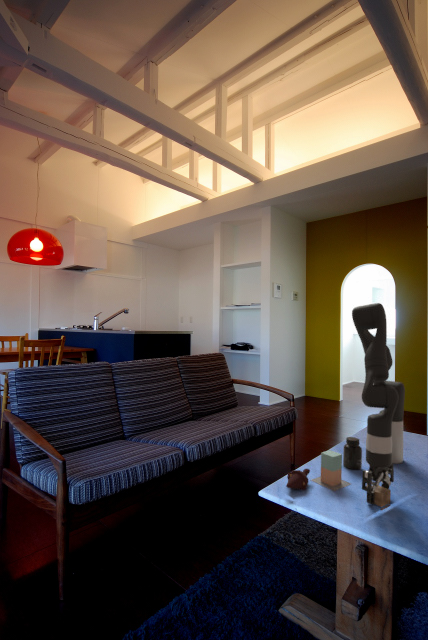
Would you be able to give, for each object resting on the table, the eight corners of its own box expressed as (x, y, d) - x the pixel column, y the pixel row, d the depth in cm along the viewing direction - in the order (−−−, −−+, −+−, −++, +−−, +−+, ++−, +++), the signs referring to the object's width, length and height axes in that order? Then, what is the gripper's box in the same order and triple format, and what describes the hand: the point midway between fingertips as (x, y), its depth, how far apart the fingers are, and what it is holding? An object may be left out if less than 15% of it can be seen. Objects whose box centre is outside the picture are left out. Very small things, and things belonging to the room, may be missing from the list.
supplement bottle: (363, 473, 135) (363, 442, 135) (344, 471, 137) (345, 440, 137) (359, 466, 142) (360, 436, 142) (341, 465, 143) (342, 435, 144)
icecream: (299, 482, 112) (319, 472, 123) (280, 470, 117) (300, 461, 128) (293, 502, 113) (313, 490, 124) (274, 489, 117) (295, 479, 129)
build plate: (327, 476, 132) (327, 473, 132) (351, 486, 124) (351, 483, 124) (310, 482, 126) (310, 480, 126) (334, 494, 118) (334, 491, 118)
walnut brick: (375, 499, 115) (375, 484, 115) (390, 506, 111) (390, 490, 111) (366, 503, 112) (366, 487, 112) (381, 510, 108) (382, 494, 108)
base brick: (329, 477, 129) (329, 463, 129) (341, 482, 125) (341, 468, 125) (320, 481, 126) (320, 466, 126) (332, 486, 122) (332, 471, 122)
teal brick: (329, 463, 129) (330, 450, 129) (341, 468, 125) (342, 454, 125) (320, 466, 126) (321, 452, 126) (332, 471, 122) (333, 457, 122)
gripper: (379, 441, 119) (378, 489, 119) (355, 449, 111) (354, 501, 111) (402, 448, 113) (401, 499, 113) (377, 456, 105) (376, 511, 105)
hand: (378, 500), depth 112 cm, fingers open, 8 cm apart
